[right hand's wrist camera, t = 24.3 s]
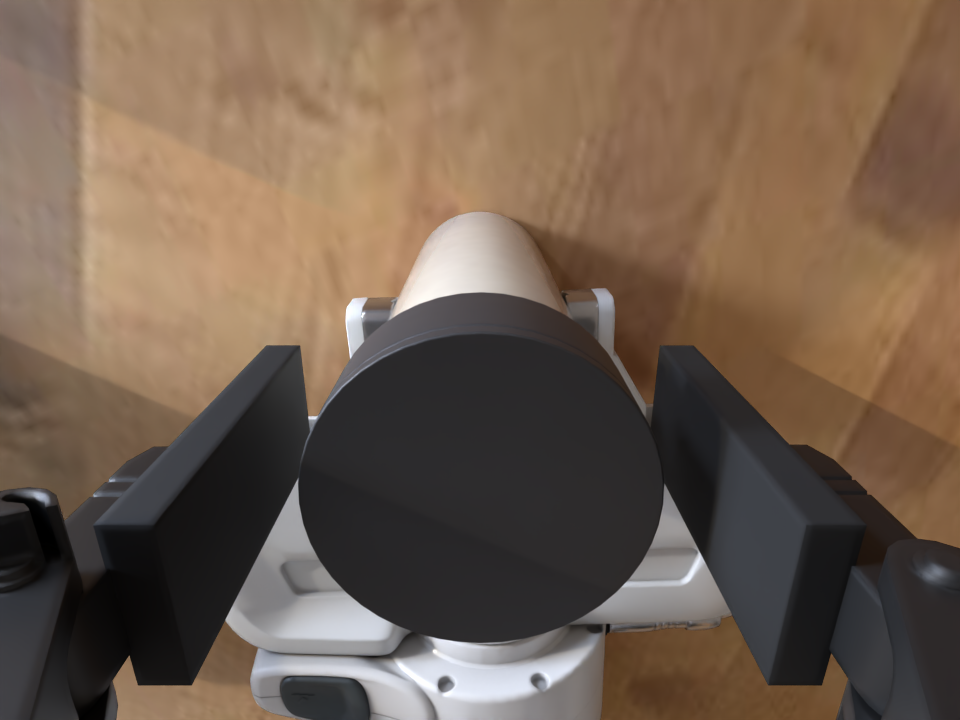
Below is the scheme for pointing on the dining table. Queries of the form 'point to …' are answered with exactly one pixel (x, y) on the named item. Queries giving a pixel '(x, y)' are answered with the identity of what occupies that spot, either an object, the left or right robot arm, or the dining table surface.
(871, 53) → the dining table surface
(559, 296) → the white cylinder
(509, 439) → the lid
